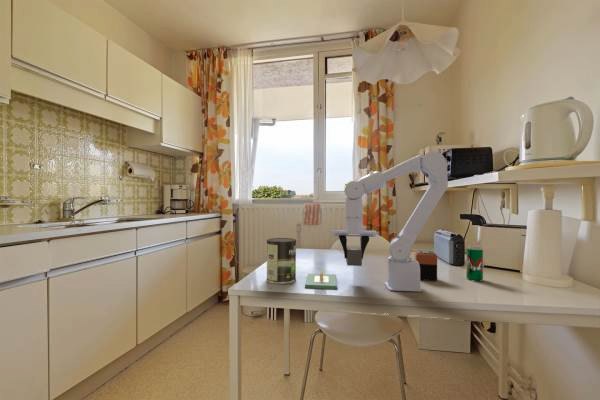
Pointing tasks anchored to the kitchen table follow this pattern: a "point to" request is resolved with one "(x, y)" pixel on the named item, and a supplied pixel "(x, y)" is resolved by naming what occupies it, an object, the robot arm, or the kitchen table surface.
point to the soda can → (474, 262)
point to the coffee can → (281, 260)
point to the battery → (427, 265)
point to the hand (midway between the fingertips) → (353, 258)
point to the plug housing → (354, 256)
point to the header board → (321, 281)
